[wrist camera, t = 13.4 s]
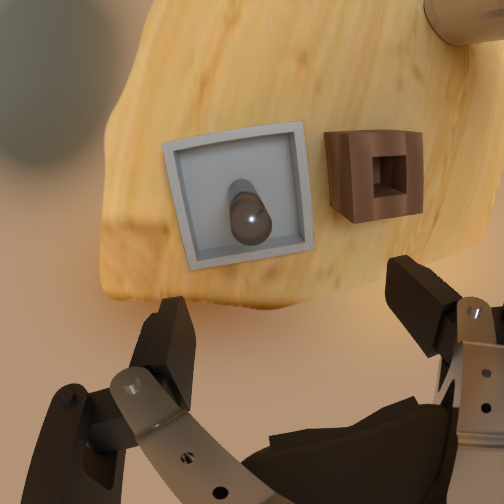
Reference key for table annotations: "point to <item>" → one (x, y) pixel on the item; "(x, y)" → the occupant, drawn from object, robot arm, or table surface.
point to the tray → (227, 171)
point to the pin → (248, 214)
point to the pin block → (375, 173)
